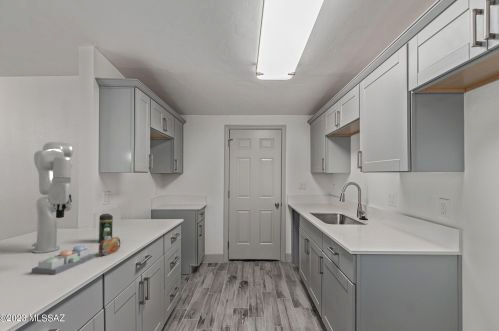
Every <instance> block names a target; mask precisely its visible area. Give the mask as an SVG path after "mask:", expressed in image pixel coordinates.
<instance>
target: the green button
mask: <svg viewBox="0 0 499 331" xmlns="http://www.w3.org/2000/svg"><path fill="white" fill-rule="evenodd" d="M49 258H50V259H48V258H45V259H46V260H45V259H44V260H45V262H53V261H56V260H58V258H51V257H49Z"/></svg>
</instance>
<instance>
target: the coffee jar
mask: <svg viewBox="0 0 499 331" xmlns="http://www.w3.org/2000/svg"><path fill="white" fill-rule="evenodd" d="M113 220H114V217H113V215H112V214H110V213H102V214H100V215H99V220H98V221H99V222H98V223H99V224H98V225H99V226H98V241H99V244H100V243H101V242H102V241H104V240H107V239H110V238H113V222H114V221H113Z"/></svg>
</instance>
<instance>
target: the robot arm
mask: <svg viewBox="0 0 499 331" xmlns="http://www.w3.org/2000/svg"><path fill="white" fill-rule="evenodd" d="M73 154H74V149H73V146H72V144H70V143H68V142H56V141H55V142H54V141H48V142H46V143H45V144H43V146H42V150H37V151H36V152H35V153H34V154H33V155H34V156H33V162H34V166H35V168H36V170H37V173H38V188H39V192H40V194H41V195H43V196H41V197H39V198H38V199H37V200H36V203H35V205H36V213H37V222H36V223H37V224H36V225H37V226H36V229H37V230H36V242H33V243H31V247H32V248H33V247H34V249H32V252H33V253H35V254H40V253H41V254H42V253H44V254H45V253H50V252H55V251H57V250H60V246H59V245H57V244H58V243H57V242H58V240H57V239H58V219H62V218H65V212H68V211H71V210H72V208H73V185H72V183H71V180H72V179H71V178H72V168H73V160H72V156H73ZM54 213H55V215H54Z"/></svg>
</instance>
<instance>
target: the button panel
mask: <svg viewBox="0 0 499 331" xmlns="http://www.w3.org/2000/svg"><path fill="white" fill-rule="evenodd" d="M50 258H58V260H56V261H53V262H45V260H46V259H50ZM92 259H95V254H94V253H90V248H85V250H84V251H81V252H73V249H72V255H70V256H67V257H64V256H60V253H59V254H57V255H55V256H54V257H48V258H45V259H42V260H39V261H38V262H37V264H38V265H37V266H35V267H32V268H31V274H41V273H42V274H43V275H44V274H45V275H58V274H60V273H62V272H64V271H67V270H69V269H72V268H74V267H76V266H79V265H81V264H84V263H86V262H88V261H90V260H92Z"/></svg>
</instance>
